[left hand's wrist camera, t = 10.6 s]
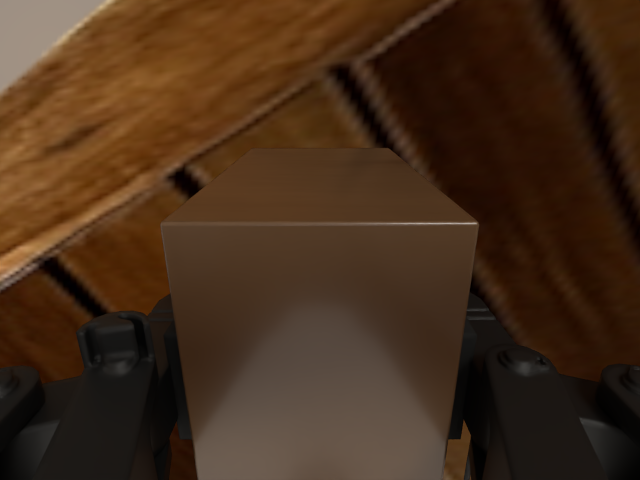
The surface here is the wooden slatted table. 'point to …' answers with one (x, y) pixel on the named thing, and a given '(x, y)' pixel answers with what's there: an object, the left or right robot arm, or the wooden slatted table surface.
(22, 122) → the wooden slatted table surface
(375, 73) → the wooden slatted table surface
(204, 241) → the plank
